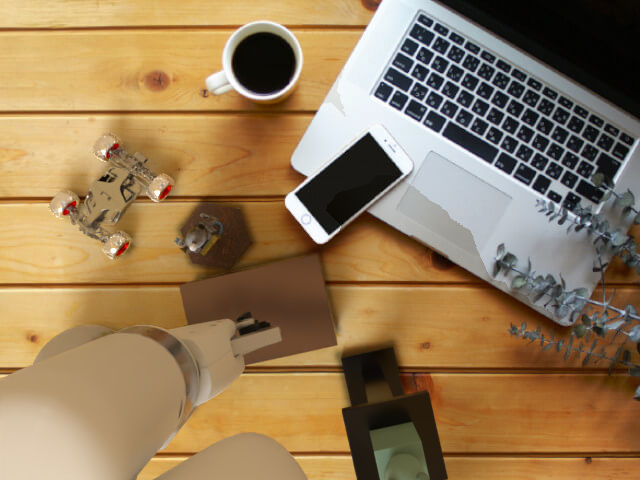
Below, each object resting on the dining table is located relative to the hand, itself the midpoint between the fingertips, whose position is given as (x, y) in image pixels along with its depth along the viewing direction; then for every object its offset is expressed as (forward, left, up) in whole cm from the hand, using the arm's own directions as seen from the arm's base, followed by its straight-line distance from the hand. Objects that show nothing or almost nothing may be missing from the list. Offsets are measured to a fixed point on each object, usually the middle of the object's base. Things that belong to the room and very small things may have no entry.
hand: (202, 338), depth 50 cm
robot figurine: (+11, +2, -28) cm, 30 cm away
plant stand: (-15, -16, -28) cm, 36 cm away
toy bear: (-15, -16, -2) cm, 22 cm away
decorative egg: (-4, +23, -28) cm, 37 cm away
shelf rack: (-1, -3, -28) cm, 28 cm away
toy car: (+20, +15, -28) cm, 38 cm away
